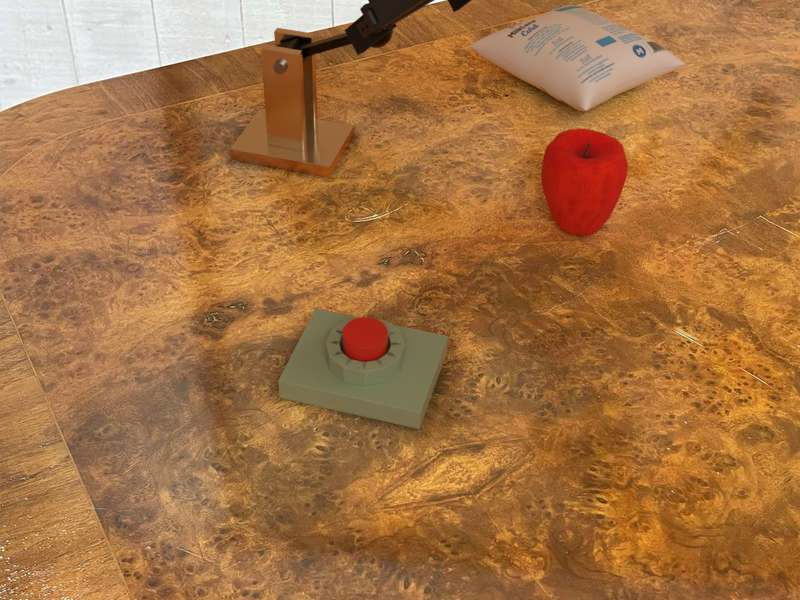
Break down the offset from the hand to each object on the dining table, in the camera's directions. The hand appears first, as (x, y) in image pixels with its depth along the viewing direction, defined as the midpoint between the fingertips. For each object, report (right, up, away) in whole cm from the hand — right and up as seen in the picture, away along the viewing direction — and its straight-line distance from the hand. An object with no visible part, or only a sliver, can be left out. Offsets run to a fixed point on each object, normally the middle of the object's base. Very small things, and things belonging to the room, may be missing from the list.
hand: (403, 20), depth 108 cm
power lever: (-7, -2, +7) cm, 10 cm away
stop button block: (-4, -35, -11) cm, 37 cm away
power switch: (-13, -11, +17) cm, 24 cm away
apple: (+19, -20, +7) cm, 29 cm away
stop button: (-3, -33, -13) cm, 35 cm away
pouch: (+22, 0, +30) cm, 37 cm away
